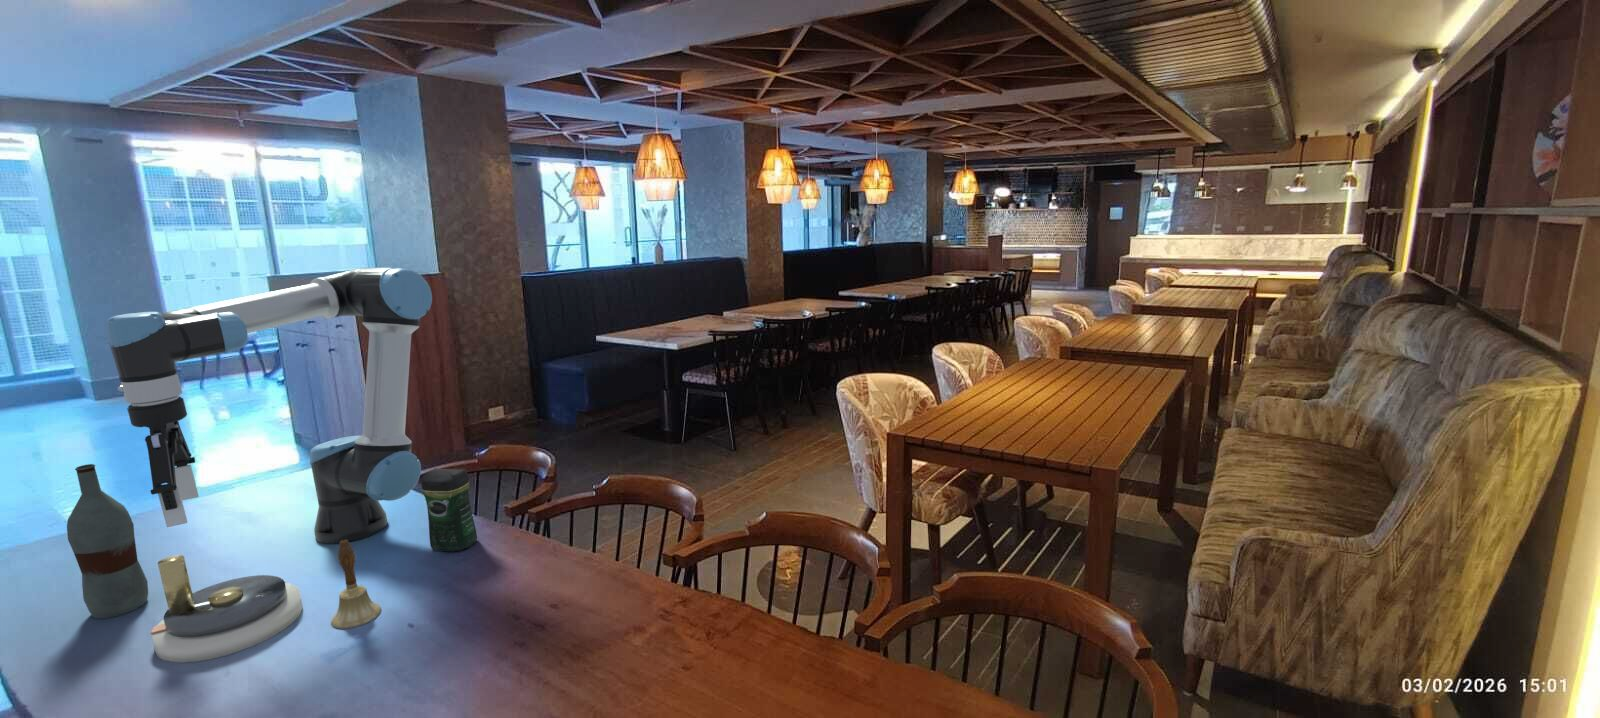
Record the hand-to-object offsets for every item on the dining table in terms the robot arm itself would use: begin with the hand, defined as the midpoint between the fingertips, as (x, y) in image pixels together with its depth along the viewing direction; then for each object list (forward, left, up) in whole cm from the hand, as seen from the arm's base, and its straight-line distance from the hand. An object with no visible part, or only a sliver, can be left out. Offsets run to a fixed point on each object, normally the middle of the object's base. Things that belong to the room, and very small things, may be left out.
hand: (183, 511), depth 131 cm
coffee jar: (-44, -9, -24) cm, 51 cm away
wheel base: (-4, +3, -23) cm, 24 cm away
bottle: (+16, -19, -24) cm, 34 cm away
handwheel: (-4, +3, -20) cm, 20 cm away
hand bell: (-24, +13, -24) cm, 36 cm away
